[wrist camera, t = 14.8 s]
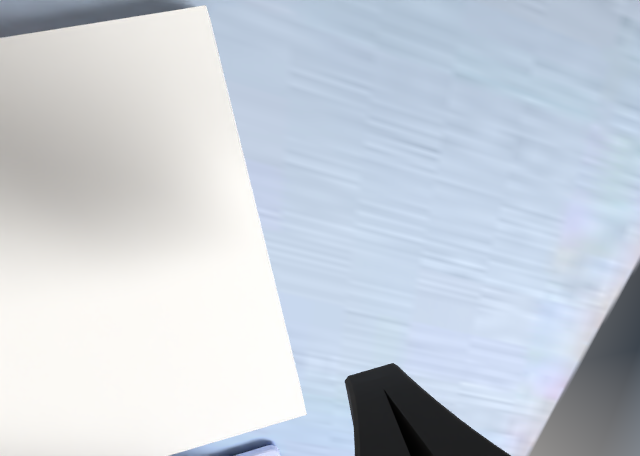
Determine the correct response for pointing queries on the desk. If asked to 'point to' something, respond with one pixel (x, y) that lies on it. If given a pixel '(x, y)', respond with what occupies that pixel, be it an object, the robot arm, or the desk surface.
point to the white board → (131, 247)
